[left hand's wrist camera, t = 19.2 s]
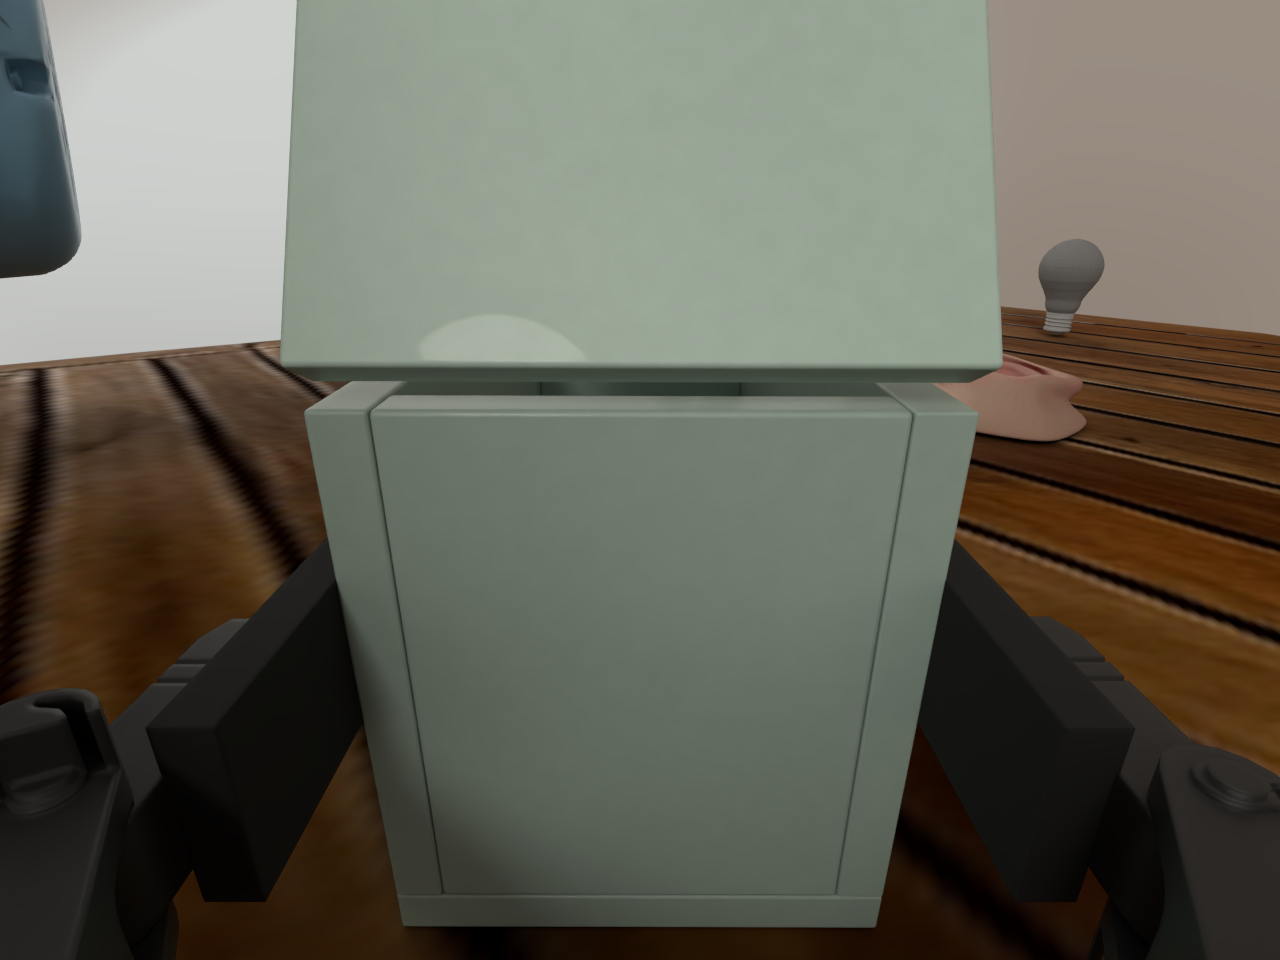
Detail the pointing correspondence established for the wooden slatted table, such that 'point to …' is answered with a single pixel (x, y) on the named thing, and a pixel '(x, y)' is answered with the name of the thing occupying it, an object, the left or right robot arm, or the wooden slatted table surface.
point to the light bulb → (1068, 280)
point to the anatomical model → (1022, 401)
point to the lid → (642, 192)
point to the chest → (640, 638)
